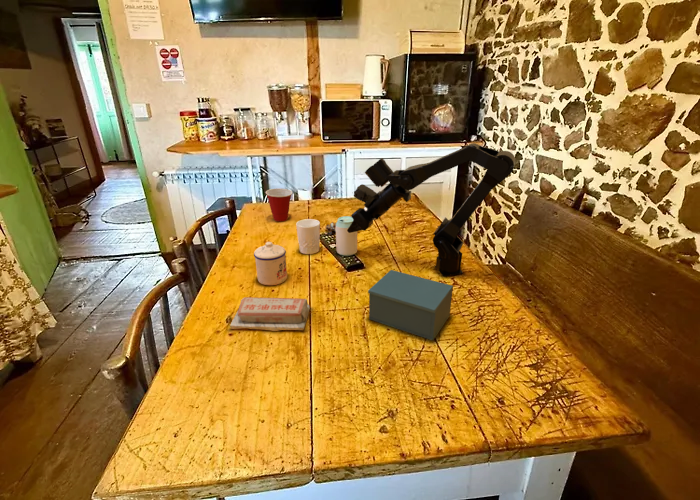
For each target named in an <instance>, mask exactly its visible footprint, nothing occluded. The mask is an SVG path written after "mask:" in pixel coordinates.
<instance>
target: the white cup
mask: <svg viewBox="0 0 700 500" xmlns="http://www.w3.org/2000/svg"><path fill="white" fill-rule="evenodd" d="M295 226H296V227H295V228H296V235H297V242H298V248H299V249H298V250H299V252H300V253H301V254H304V255H313V254H314V255H315V254H317V253H319V251H320V241H321V240H320V239H321V222H320V221H319V220H318V219H314V218H305V219H301V220H298V221H296V223H295Z"/></svg>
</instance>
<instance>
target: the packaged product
mask: <svg viewBox="0 0 700 500" xmlns="http://www.w3.org/2000/svg"><path fill="white" fill-rule="evenodd" d="M310 309H311V306H310V305H309V303H308V299H307V298H296V297H295V298H291V297H252V296H251V297H249V296H247V297H242V299H240V303H239V306H238V309H237V311H236V313H235V314H234V317H233V319H232V320H231V322H230V324H229V328H230V330H238V329H249V330H250V329H251V330H266V331H273V332H276V331H277V332H278V331H282V330H283V331H284V330H285V331H287V330H288V331H291V330H295V331H305V327H306V323H307V321H308V316H309V313H310Z"/></svg>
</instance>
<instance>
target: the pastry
mask: <svg viewBox="0 0 700 500" xmlns="http://www.w3.org/2000/svg"><path fill="white" fill-rule="evenodd" d="M325 230H327V232H324V235H327V236H331V235H332V234H333V231H334V232H335V233H336V222H333V221H332V222H331V223H330V224H327V225H325Z"/></svg>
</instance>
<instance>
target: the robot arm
mask: <svg viewBox="0 0 700 500" xmlns="http://www.w3.org/2000/svg"><path fill="white" fill-rule="evenodd" d="M468 162H471V163H474V164H476V165H478V166H480V167H481V168H483V169H485V170H486V171H485V172H484V175H483V177H482V179H481V180H480V181H479V183H478V184H477V186H475V188H474V189H473V190H472V192H471V193H470V195H468V197H467V198H466V200H465V201H464V202H463V203H462V205H461V206H460V208H459V209H458V210H457V211H456V212H455V214H454V215H453V216H452V217H451V218H450V219H448V218H447V217H444V219H443V220H442V221H441V223H440V224H439V225H437V228H435V231H434V232H433V233H432V235H434V236H433V238H432V244H433V246H434V248H436V249H437V252H438V254H437V256H436V258H435V259H436V260H435V265H434V269H436V270H437V271H438V273H439V274H440V275H441V276H442V277H450V276H458V275H463V273H464V272H463V270H461V267H462V261H463V260H462V259H463V252H461V249H462V247H463V245H464V241H463V240H462V239H461V238H460V237H459V233H460V232H461V230H462V228H463V226H464V225H465V224H466V222H467V221H468V220H469V219H470V217H471V216H472V215H473V214H474V212H475V211H476V210H477V209H478V207H479V206H480V205H481V204H482V203H483V201H484V200H485V199H486V198H487V196H488V195H489V194H490V193H491V191H492V190H493V189H495V188H496V187H497V186H499V184H501V183H502V182H503V181H504V180H505V179H506V178H508V177H509V176H510V175H511V174H512V173H513V171H514V169H515V166H516V157H515V155H514V153H512V152H511V151H508V150H501V151H499V150H496V149H493V148H490V147H486V146H482V145H480V144H477V143H475V142H472V143H469V144H468V145H466V146H464V147H461V148H460V149H457V150H454V151H452V152H451V153H448V154H446V155H443V156H441V157H438V158H437V159H434V160H432V161H430V162H426V163H419V164H415V165H411V166H408V167H407V168H405V169H396V170H395V171H393V169H392V168H391V167H390V166H389V165H388V163H387V162H386V160H385V159H384V158H383V157H381V158H380V159H378V160H377V161H376V162H375V163H373V164H372V165H371V166H369V167H368V168H367V169H366V170H365V171H364V174H365V175H366V176H367V177H368V178H369V180H370V181H371V182H372V183H373V185H374V186H375V187H376V188H382V189H381V190H379V191H378V192H376V191H374V189H372V188H370V187H369V186H367V185H366V184H363V183H361V184H360V185H358V186H357V187H356V189H355V190H354V191H353V197H354V198H355V199H357V200H358V201H360V202H362V203H364V204H363V206H364V207H366V208H367V211H365V210H364V207H363V208H361V207H359V208H358V209H357V210H355V211H354V212H353V213H352V214H351V215H350V217H352V218H353V222H352V224H351V225H350V227H349V228H348V230H347V231H348V232H349V233H352V232H356V231H357V232H361V231H364V232H365V231H366V230H368V229H369V228H370V227H371V226H372V225H373V224H374V219H375V218H376V219H375V220H378V219H379V218H381V217H382V216H383V215H384V214H386V213H387V212H388V211H389V210H390V209H391V208H392V207H393V206H395V204H397V203H398V202H399V201H400V200H401V199H403V200H404V201H405V203H408V202H409V201H410V200H411V199H412V190H414V189H415V188H417V187H419V186H420V185H421V184H423V183H424V182H426V181H428V179H431V178H432V177H435V176H436V175H439V174H441V173H444V172H446V171H449V170H451V169H453V168H456V167H458V166H461V165H463V164H466V163H468ZM386 184H387V185H386ZM385 185H386V186H385ZM384 186H385V187H384ZM383 187H384V188H383Z"/></svg>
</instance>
